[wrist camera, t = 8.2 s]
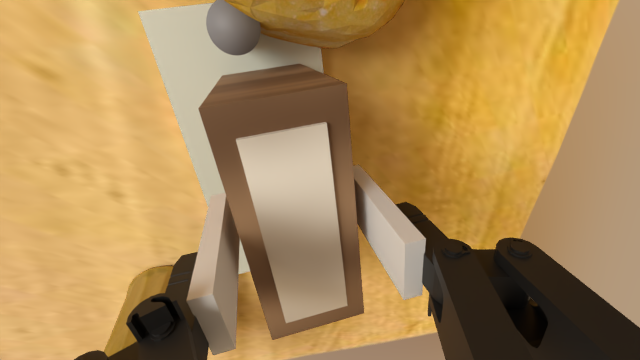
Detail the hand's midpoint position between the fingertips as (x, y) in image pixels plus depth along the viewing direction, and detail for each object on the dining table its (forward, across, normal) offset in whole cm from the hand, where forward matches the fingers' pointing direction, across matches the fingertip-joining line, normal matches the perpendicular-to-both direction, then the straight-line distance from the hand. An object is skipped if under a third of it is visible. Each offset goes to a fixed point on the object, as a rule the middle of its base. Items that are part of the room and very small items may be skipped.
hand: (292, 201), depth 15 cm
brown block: (+7, 0, 0) cm, 7 cm away
